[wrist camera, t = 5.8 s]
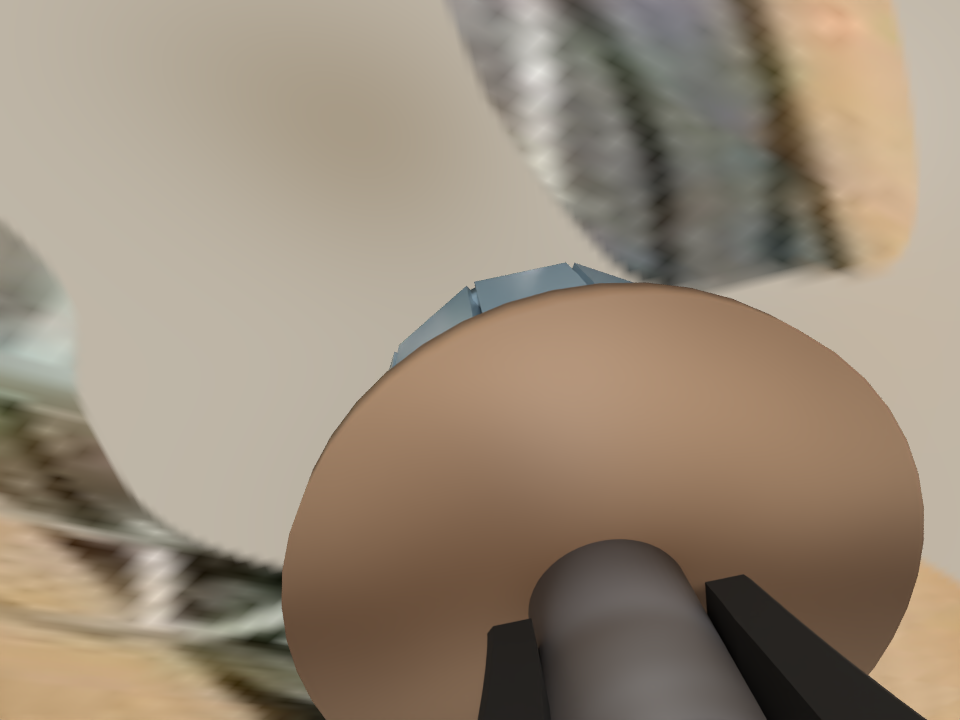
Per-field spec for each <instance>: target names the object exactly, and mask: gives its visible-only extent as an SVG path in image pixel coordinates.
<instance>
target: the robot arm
mask: <svg viewBox="0 0 960 720" xmlns="http://www.w3.org/2000/svg"><path fill="white" fill-rule="evenodd" d="M705 591H706V605H707V615H708V616H709V618H710V620H711V622H712V624H713V625H714V627H715V629H716V631H717V632H718V634H719V636H720V638H721V639H722V641H723V643H724V645H725V647H726V648H727V650H728V652H729V654H730V655H731V657H732V659H733V661H734V662H735V664H736V666H737V668H738V670H739V671H740V673H741V675H742V677H743V678H744V680H745V682H746V684H747V685H748V687H749V689H750V691H751V693H752V694H753V696H754V698H755V700H756V701H757V703H758V705H759V707H760V708H761V710H762V712H763V714H764V716H765V717H766V719H767V720H926V719H925V718H924V717H922V716H921V715H920V714H918V713H917V712H916V711H914V710H913V709H912V708H910V707H909V706H907V705H906V704H905V703H903V702H902V701H901V700H899V699H898V698H897V697H895V696H894V695H893V694H892V693H890V692H889V691H888V690H886V689H885V688H884V687H882V686H881V685H880V684H879V683H877V682H876V681H875V680H873V679H872V678H871V677H870V676H868V675H867V674H866V673H864V672H863V671H862V670H860V669H859V668H858V667H857V666H855V665H854V664H853V663H851V662H850V661H849V660H848V659H846V658H845V657H844V656H843V655H841V654H840V653H839V652H838V651H836V650H835V649H834V648H833V647H831V646H830V645H829V644H828V643H826V642H825V641H824V640H823V639H822V638H820V637H819V636H818V635H817V634H815V633H814V632H813V631H812V630H811V629H809V628H808V627H807V626H806V625H805V624H803V623H802V622H801V621H800V620H799V619H797V618H796V617H795V616H794V615H793V614H791V613H790V612H789V611H788V610H787V609H785V608H784V607H783V606H782V605H781V604H780V603H778V602H777V601H776V600H775V599H774V598H773V597H771V596H770V595H769V594H768V593H767V592H766V591H764V590H763V589H762V588H761V587H760V586H759V585H757V584H756V583H755V582H754V581H753V580H752V579H750V578H749V577H747V576H746V575H744V574H742V575H737V576H732V577H727V578H723V579H718V580H713V581H708V582H705ZM478 720H551V716H550V707H549V702H548V697H547V692H546V687H545V682H544V677H543V672H542V667H541V662H540V656H539V651H538V647H537V642H536V637H535V633H534V628H533V623H532V619H531V618H530V619H525V620H520V621H515V622H510V623H506V624H501V625H496V626H493V627H492V628H491V629H490V630H489V632H488V633H487V655H486V666H485V675H484V683H483V690H482V696H481V702H480V708H479V715H478Z"/></svg>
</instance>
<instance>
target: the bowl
mask: <svg viewBox="0 0 960 720" xmlns="http://www.w3.org/2000/svg"><path fill="white" fill-rule="evenodd" d="M474 283H475V287H476V288H473V289H472V290H470V289H469V288H468V287H467V286H466V287H465V288H464V289H463V290H461V291H460V292H459V293H458V294H457V295H456V296H454V297H453V298H452V299H451V300H450V301H449V302H448V303H446V304H445V306H443V307H442V308H441V309H440V310H438V311H437V312H436V313H435V314H434V315H433V316H432V317H431V318H430V319H428V320H427V321H426V322H425V323H424V324H423V325H421V326H420V327H419V328H418V329H417V330H416V331H415V332H413V333H412V334H411V335H410V336H409V337H408V338H407V339H406V340H404V341H403V342H402V343H401V344H400V345H399V348H398V353H396V352H394V355H393V359H392V362H391V365H390V369H391V368H392V367H394V366H395V365H396V364H398V363H399V362H400V361H402V360H403V359H404V358H405V357H407V356H408V355H409V354H411V353H412V352H413V351H415V350H416V349H417V348H419V347H420V346H421V345H422V344H424V343H426V342H428V341H429V340H431V339H433V338H434V337H436V336H438V335H440V334H441V333H443V332H445V331H447V330H448V329H450V328H452V327H454V326H455V325H457V324H459V323H460V322H462V321H464V320H467V319H469V318H472V317H474V316H476V315H479V314H481V313H483V312H486V311H488V310H491V309H493V308H495V307H498V306H500V305H502V304H505V303H508V302H511V301H515V300H519V299H522V298H526V297H529V296H533V295H536V294H540V293H544V292H547V291H551V290H557V289H563V288H570V287H577V286H584V285H591V284H598V283H633V282H630V281H627V280H624V279H621V278H618V277H615V276H612V275H609V274H606V273H603V272H600V271H597V270H594V269H591V268H588V267H585V266H582V265H579V264H576V263H574V266H573V268H571V267H570V266H569V265H568V264H567V263H561V264H557V265H552V266H547V267H543V268H538V269H533V270H528V271H524V272H519V273H514V274H510V275H505V276H500V277H496V278H491V279H486V280H481V281H476V282H474ZM390 369H389V370H390Z"/></svg>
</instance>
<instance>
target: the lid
mask: <svg viewBox="0 0 960 720" xmlns="http://www.w3.org/2000/svg"><path fill="white" fill-rule="evenodd" d="M923 530H924V506H923V499H922V494H921V487H920V481H919V474H918V471H917V468H916V465H915V462H914V460H913V456H912V453H911V451H910V448H909V445H908V442H907V439H906V438H905V436H904V434H903V432H902V430H901V429H900V427H899V425H898V423H897V421H896V420H895V418H894V416H893V414H892V412H891V411H890V409H889V408H888V406H887V405H886V404H885V403H884V401H883V400H882V399H881V398H880V396H879V395H878V394H877V393H876V392H875V390H874V389H873V388H872V386H871V385H870V384H869V383H868V382H867V380H866V379H865V378H864V377H862V376H861V375H860V374H859V373H858V372H857V371H856V370H855V369H853V368H852V367H851V366H850V365H849V364H848V363H847V362H845V361H844V360H843V359H842V358H841V357H840V356H839V355H837V354H836V353H835V352H833V351H832V350H830V349H829V348H827V347H825V346H824V345H822V344H820V343H819V342H817V341H816V340H814V339H812V338H811V337H809V336H808V335H806V334H804V333H803V332H801V331H799V330H798V329H796V328H794V327H792V326H790V325H788V324H786V323H784V322H783V321H781V320H779V319H777V318H775V317H773V316H771V315H769V314H767V313H765V312H762V311H760V310H758V309H755V308H753V307H750V306H748V305H746V304H743V303H741V302H739V301H736V300H734V299H731V298H727V297H723V296H720V295H716V294H712V293H708V292H704V291H700V290H697V289H693V288H688V287H679V286H670V285H662V284H653V283H598V284H591V285H584V286H577V287H570V288H563V289H557V290H551V291H547V292H544V293H540V294H536V295H533V296H529V297H526V298H522V299H519V300H515V301H511V302H508V303H505V304H502V305H500V306H498V307H495V308H493V309H491V310H488V311H486V312H483V313H481V314H479V315H476V316H474V317H472V318H469V319H467V320H464V321H462V322H460V323H459V324H457V325H455V326H454V327H452V328H450V329H448V330H447V331H445V332H443V333H441V334H440V335H438V336H436V337H434V338H433V339H431V340H429V341H428V342H426V343H424V344H422V345H421V346H420V347H419V348H417V349H416V350H415V351H413V352H412V353H411V354H409V355H408V356H407V357H405V358H404V359H403V360H402V361H400V362H399V363H398V364H396V365H395V366H394V367H392V368H391V369H390V370H389V371H387V372H386V373H385V374H384V375H383V376H382V377H381V378H380V379H379V380H378V381H377V382H376V383H375V384H374V385H373V386H372V387H371V388H370V389H369V390H368V391H367V392H366V393H365V394H364V395H363V396H362V397H361V398H360V399H359V400H358V401H357V402H356V404H355V405H354V406H353V408H352V409H351V410H350V412H349V413H348V414H347V416H346V417H345V418H344V420H343V421H342V422H341V424H340V425H339V426H338V428H337V429H336V430H335V431H334V433H333V434H332V436H331V438H330V439H329V441H328V443H327V445H326V447H325V449H324V450H323V452H322V454H321V456H320V458H319V460H318V461H317V463H316V465H315V467H314V469H313V471H312V474H311V476H310V479H309V482H308V484H307V487H306V490H305V492H304V495H303V498H302V501H301V503H300V506H299V509H298V511H297V514H296V517H295V520H294V522H293V525H292V528H291V531H290V534H289V538H288V544H287V549H286V555H285V560H284V565H283V570H282V612H283V618H284V625H285V632H286V638H287V642H288V645H289V648H290V652H291V655H292V658H293V661H294V664H295V667H296V670H297V672H298V674H299V676H300V678H301V680H302V682H303V684H304V686H305V688H306V690H307V692H308V694H309V696H310V698H311V699H312V701H313V702H314V704H315V705H316V707H317V708H318V709H319V711H320V712H321V713H322V715H323V716H324V717H325V719H326V720H478V715H479V708H480V702H481V696H482V690H483V683H484V675H485V666H486V655H487V633H488V632H489V630H490V629H491V628H492V627H493V626H496V625H501V624H506V623H510V622H515V621H520V620H525V619H530V618H531V619H532V623H533V628H534V633H535V637H536V642H537V647H538V651H539V656H540V662H541V667H542V672H543V677H544V682H545V687H546V692H547V697H548V702H549V707H550V716H551V720H767V719H766V717H765V716H764V714H763V712H762V710H761V708H760V707H759V705H758V703H757V701H756V700H755V698H754V696H753V694H752V693H751V691H750V689H749V687H748V685H747V684H746V682H745V680H744V678H743V677H742V675H741V673H740V671H739V670H738V668H737V666H736V664H735V662H734V661H733V659H732V657H731V655H730V654H729V652H728V650H727V648H726V647H725V645H724V643H723V641H722V639H721V638H720V636H719V634H718V632H717V631H716V629H715V627H714V625H713V624H712V622H711V620H710V618H709V616H708V615H707V605H706V591H705V582H708V581H713V580H718V579H723V578H727V577H732V576H737V575H742V574H744V575H746V576H747V577H749V578H750V579H752V580H753V581H754V582H755V583H756V584H757V585H759V586H760V587H761V588H762V589H763V590H764V591H766V592H767V593H768V594H769V595H770V596H771V597H773V598H774V599H775V600H776V601H777V602H778V603H780V604H781V605H782V606H783V607H784V608H785V609H787V610H788V611H789V612H790V613H791V614H793V615H794V616H795V617H796V618H797V619H799V620H800V621H801V622H802V623H803V624H805V625H806V626H807V627H808V628H809V629H811V630H812V631H813V632H814V633H815V634H817V635H818V636H819V637H820V638H822V639H823V640H824V641H825V642H826V643H828V644H829V645H830V646H831V647H833V648H834V649H835V650H836V651H838V652H839V653H840V654H841V655H843V656H844V657H845V658H846V659H848V660H849V661H850V662H851V663H853V664H854V665H855V666H857V667H858V668H859V669H860V670H862V671H863V672H864V673H866V674H867V675H869V673H870V672H871V671H872V670H873V668H874V667H875V666H876V664H877V662H878V661H879V659H880V658H881V656H882V655H883V653H884V651H885V650H886V648H887V647H888V645H889V644H890V642H891V640H892V639H893V637H894V635H895V633H896V631H897V629H898V626H899V624H900V622H901V620H902V618H903V616H904V614H905V612H906V610H907V607H908V604H909V601H910V598H911V595H912V592H913V589H914V586H915V583H916V579H917V576H918V572H919V566H920V560H921V553H922V547H923V540H924V537H923V535H924V533H923V532H924V531H923Z"/></svg>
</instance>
